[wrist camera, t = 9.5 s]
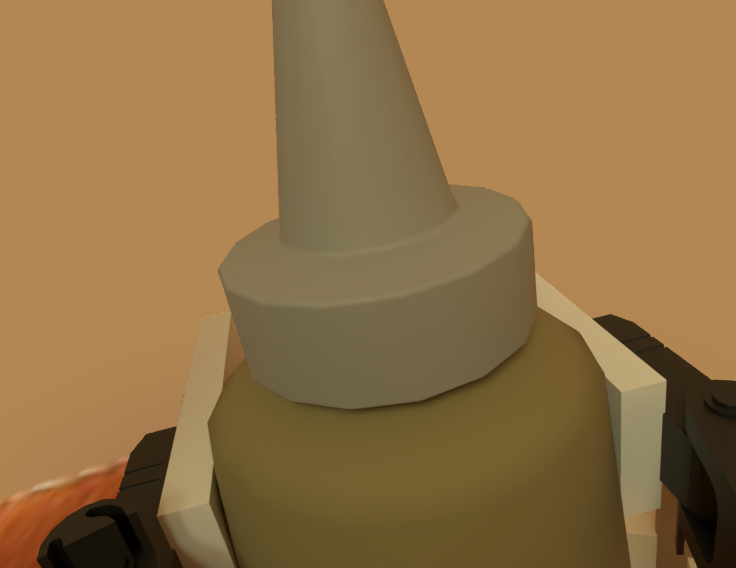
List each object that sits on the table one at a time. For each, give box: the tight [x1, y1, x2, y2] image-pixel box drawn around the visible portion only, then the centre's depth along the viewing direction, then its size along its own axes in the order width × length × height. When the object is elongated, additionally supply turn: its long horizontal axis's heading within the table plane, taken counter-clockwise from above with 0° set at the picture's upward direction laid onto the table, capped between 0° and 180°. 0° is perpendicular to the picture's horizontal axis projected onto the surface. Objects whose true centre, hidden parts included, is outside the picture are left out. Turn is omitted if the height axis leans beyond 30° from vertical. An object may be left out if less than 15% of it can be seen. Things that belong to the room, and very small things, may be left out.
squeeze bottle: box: [207, 0, 631, 568], centre depth 11 cm, size 8×8×18 cm
